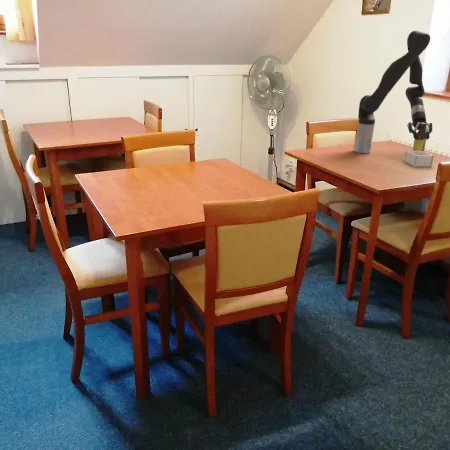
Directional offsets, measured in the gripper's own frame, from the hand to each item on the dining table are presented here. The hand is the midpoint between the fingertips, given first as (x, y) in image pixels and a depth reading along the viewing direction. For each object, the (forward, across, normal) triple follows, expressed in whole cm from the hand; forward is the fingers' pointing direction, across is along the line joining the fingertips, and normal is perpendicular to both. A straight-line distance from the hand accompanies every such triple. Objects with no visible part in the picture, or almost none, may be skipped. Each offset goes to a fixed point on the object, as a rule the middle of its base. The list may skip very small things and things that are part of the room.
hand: (421, 138), depth 265 cm
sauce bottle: (+7, 0, +9) cm, 12 cm away
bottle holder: (+18, -5, -2) cm, 19 cm away
